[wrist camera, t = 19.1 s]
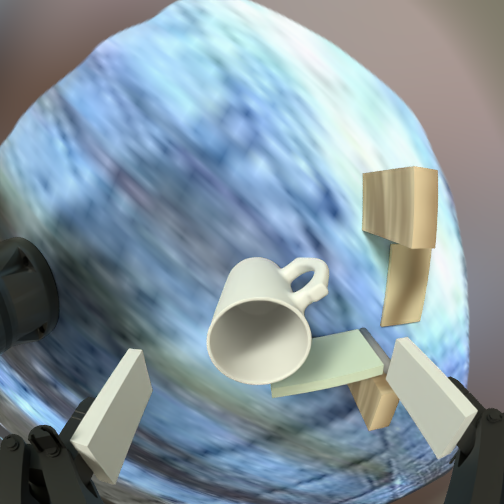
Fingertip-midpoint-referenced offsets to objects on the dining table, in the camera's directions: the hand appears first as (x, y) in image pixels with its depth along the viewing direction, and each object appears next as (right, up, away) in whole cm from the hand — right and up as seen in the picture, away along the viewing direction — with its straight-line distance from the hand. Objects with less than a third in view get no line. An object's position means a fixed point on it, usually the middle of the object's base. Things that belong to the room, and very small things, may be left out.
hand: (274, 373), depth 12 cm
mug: (+1, +3, +16) cm, 16 cm away
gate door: (+7, -4, +17) cm, 19 cm away
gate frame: (+16, +2, +16) cm, 22 cm away
